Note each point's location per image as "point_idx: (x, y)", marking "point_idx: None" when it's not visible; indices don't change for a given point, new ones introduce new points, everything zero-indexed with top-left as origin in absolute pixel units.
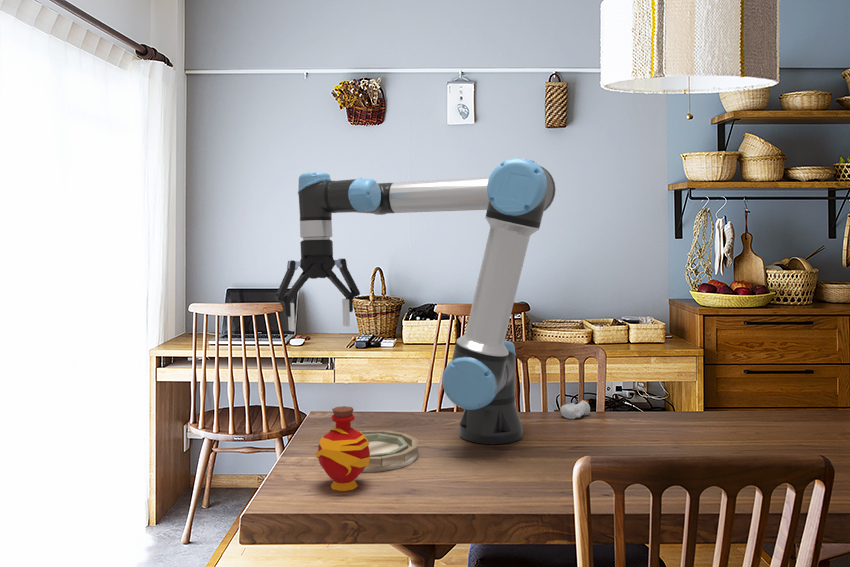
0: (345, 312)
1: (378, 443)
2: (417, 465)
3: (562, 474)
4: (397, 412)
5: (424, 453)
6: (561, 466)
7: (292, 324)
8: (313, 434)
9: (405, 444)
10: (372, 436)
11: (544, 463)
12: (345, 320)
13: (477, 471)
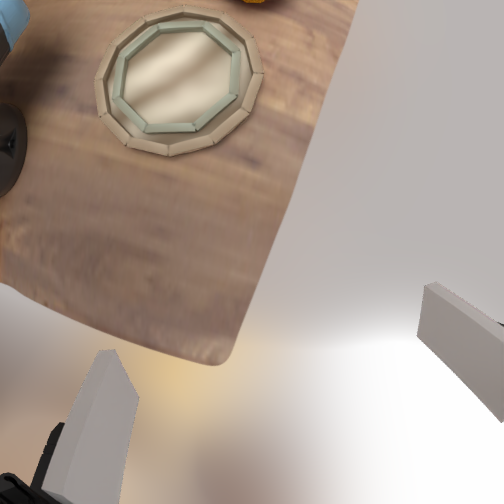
0: (100, 427)
1: (152, 110)
2: None
3: None
4: (89, 322)
5: None
6: None
7: (456, 297)
8: (252, 238)
9: (121, 58)
10: (157, 124)
11: None
12: (115, 390)
13: (73, 8)
